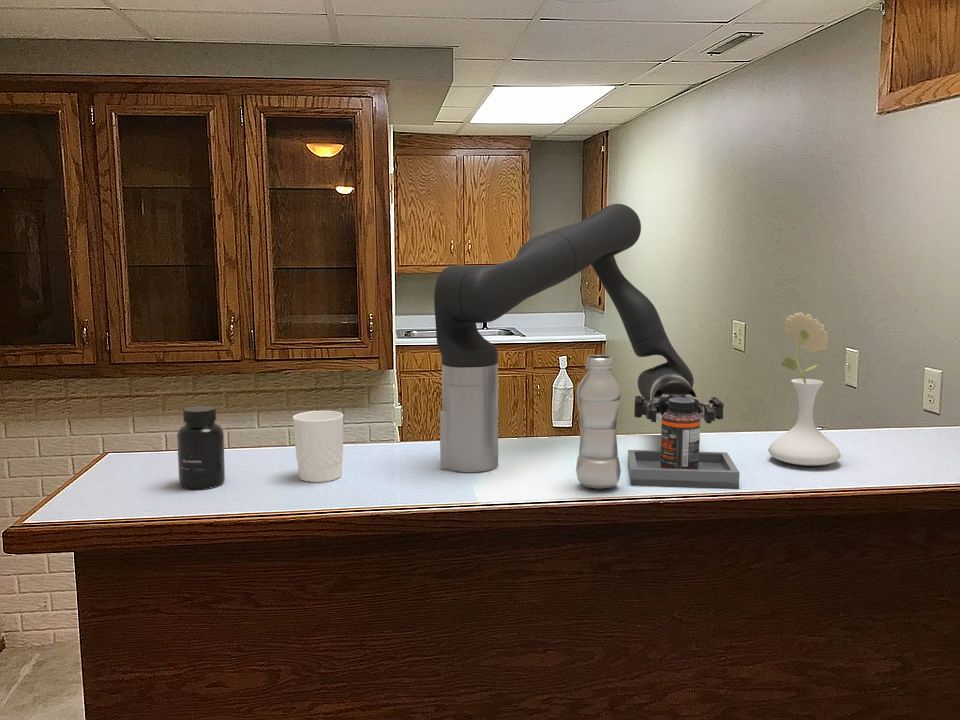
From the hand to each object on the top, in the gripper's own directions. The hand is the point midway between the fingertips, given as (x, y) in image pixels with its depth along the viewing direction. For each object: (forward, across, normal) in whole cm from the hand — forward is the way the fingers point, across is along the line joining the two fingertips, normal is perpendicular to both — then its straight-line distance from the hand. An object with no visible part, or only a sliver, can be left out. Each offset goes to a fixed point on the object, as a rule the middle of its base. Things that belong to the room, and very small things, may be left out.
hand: (681, 416), depth 132 cm
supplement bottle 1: (+13, -74, +10) cm, 76 cm away
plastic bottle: (+8, -13, +10) cm, 18 cm away
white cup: (+7, -57, +10) cm, 58 cm away
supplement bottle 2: (0, 0, +9) cm, 9 cm away
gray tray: (+1, 0, +10) cm, 10 cm away
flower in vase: (-11, +21, +10) cm, 25 cm away
